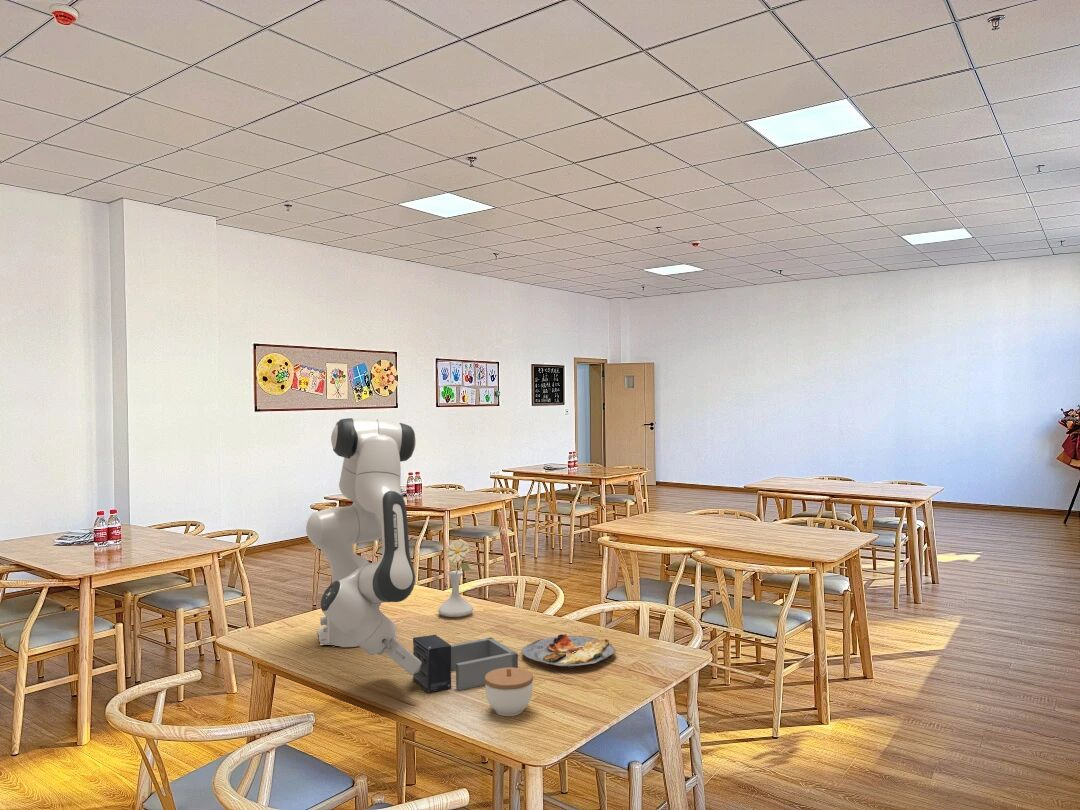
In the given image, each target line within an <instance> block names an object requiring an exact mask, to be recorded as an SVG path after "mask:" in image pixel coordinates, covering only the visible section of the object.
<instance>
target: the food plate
mask: <svg viewBox="0 0 1080 810" xmlns="http://www.w3.org/2000/svg"><path fill="white" fill-rule="evenodd" d="M578 646H584V647H578ZM574 651H576V653H574V654H572V655H570V656H569V657H568V656H567V657H566V654H567V653H572V652H574ZM520 653H521V655H522V656H525V657H526V658H528V659H530V660H533V661H535V662H539V663H542V664H547V665H553V666H557V667H567V668H571V669H572V668H575V667H580V666H584V665H591V664H597V663H598V662H600V661H601V662H602V661H603V660H605V659H607V658H608V657H610V656H613V655H614V654H615V653H616V649H615V648H614V647H613V645H612V644H611V643H610V640H609V639H597V638H594V637H592V636H591V637H589V636H581V635H577V636H576V635H567V633H564V634H562V633H561V634H558V635H557V636H551V637H547V638H546V637H545V638H541V639H538V640H536V641H533V642H531V643H528V644H527V645H524V646H523V647H522V648H521V651H520ZM568 655H569V654H568Z"/></svg>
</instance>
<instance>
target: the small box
mask: <svg viewBox="0 0 1080 810" xmlns="http://www.w3.org/2000/svg"><path fill="white" fill-rule="evenodd" d="M412 642H413V644H412V646H413V647H412V649H413V652H412V654H413V655H414V656H416V657H417V658H418V659H419V660H420V661H421V662H422V664H421V669H420V671H419V672H418V673H414V674H413V675H412V680H413V681H414V682H415V683H416V684H417V685H419V686H420V687H421V688H422V689H423V690H424V691H425V692H426V693H431V692H437V691H443V690H446V689H452V670H451V645H452V644H450V643H448V642H447V641H446V640H444V639H443V638H441V637H439V636H438V635H436V634H431V635H423V636H417V637H412Z"/></svg>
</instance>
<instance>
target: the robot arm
mask: <svg viewBox="0 0 1080 810" xmlns="http://www.w3.org/2000/svg"><path fill="white" fill-rule="evenodd" d="M331 432H332V433H331V437H330V443H331V446H332V450H333V452H334V453H335V454H336V455H337V456H339V457H341V458H343V462H342V467H341V473H340V477H339V483H338V485H339V486H338V487H339V490H340V492H341V495H343V497H345V498H346V499H348V500H350V501H351V502H352V504H351V505H346V506H338V507H335V506H334V507H329V508H324V509H321V510H318V511H315V512H313V513H312V514H311V515H310V516H309V518H308V519H307V522H306V527H305V528H306V530H305V531H306V535H307V538H308V540H309V541H310V542H311V543H312V544H313V545H314V546H315V547H317V548H318V549H320V550H321V551H322V553H324V555H325V557H326V558H327V561H328V563H329V566H330V571H331V583H330V585H329V586H328V587H326V589H325V591H324V592H323V594H322V596H321V599H320V610H321V612H322V614H323V615H324V616H321V617H320V621H319V622H320V623H319V624H320V626H321V627H319V628H317V636H318V635H319V637H318V643H319V642H320V644H323V645H335V646H342V647H341V648H353V647H355V648H356V647H360V648H361V649H362V650H363V651H365V652H366V653H367V654H368V655H370V656H375V655H378V656H381V655H384V654H386V655H387V656H388V657H389V658H390V659H391V660H392V661H394V662H395V663H396V664H397V665H398V666H400V667H401V668H402V669H403V670H404V671H405V672H407V674H409V675H410V676H413V674H414V673H418V672H419V671H420V669H421V664H422V662H421V661H420V660H419V659H418V658H417V657H416V656H414V655H413V652H411V651H410V650H408V649H407V648H406V647H405V646H404V645H403V644H402V643H400V642H399V641H398V640H397V637H398V634H397V631H396V630H397V625H396V623H394V622H393V620H392V619H390V618H388V617H387V616H386V615H385V614H384V613H383V612H382V611H381V610H380V606H381V605H382V604H383V603H400V602H403V601H405V600H406V599H407V598H408V597H409V596H410V595H411V594H412V592H413V591H414V587H415V583H416V572H415V568H414V565H413V562H412V558H411V551H410V540H409V539H410V538H409V526H408V513H407V506H406V502H405V499H404V497H403V496H402V490H401V478H402V477H401V475H402V474H401V470H402V469H401V463H402V462H405V461H408V460H409V459H410V458H411V457H412V456H413V453H414V451H415V449H416V446H417V445H416V442H417V441H416V440H417V439H416V433H415V430H414V428H413V427H412V426H410V425H408V424H406V423H402V422H399V423H397V422H394V421H388V420H382V419H368V418H367V419H365V418H361V419H356V418H355V419H353V418H352V417H350V418H341V419H339V420H338V421H337V422H336V423H335V426H334V427H333V430H332V431H331ZM377 540H381V544H382V546H381V547H382V554H381V557H380V559H379V560H378V561H374V562H370V561H369V560H368V559H366V558H365V557H363V556H361V555H359V554H356V553H355V552H354V547H353V545H354V544H360V543H361V544H362V543H369V542H374V541H377ZM335 646H334V647H335Z"/></svg>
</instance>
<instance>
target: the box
mask: <svg viewBox="0 0 1080 810" xmlns="http://www.w3.org/2000/svg"><path fill="white" fill-rule="evenodd" d="M450 645H451V671H454V670H455V689H456V690H457V691H463V690H467V689H473V688H476V687H481V686H485V675H486V674H487V673H488V672H490V671H492V670H495V669H500V668H511V667H512V668H519V654H518V652H516V651H514V650H513V649H511V648H510V647H508V646H506V645H504V644H503V643H502V642H500V641H499V640H496V639H494V638H493V637H486V638H479V639H476V640H469V641H465V642H460V643H454V644H450Z"/></svg>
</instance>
